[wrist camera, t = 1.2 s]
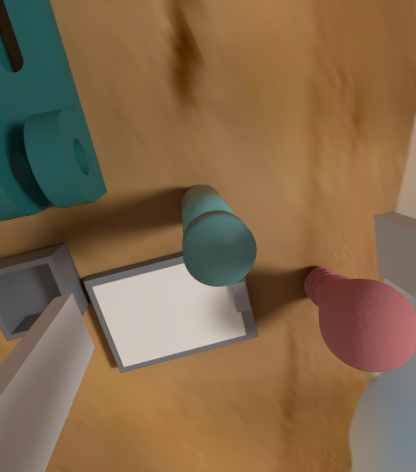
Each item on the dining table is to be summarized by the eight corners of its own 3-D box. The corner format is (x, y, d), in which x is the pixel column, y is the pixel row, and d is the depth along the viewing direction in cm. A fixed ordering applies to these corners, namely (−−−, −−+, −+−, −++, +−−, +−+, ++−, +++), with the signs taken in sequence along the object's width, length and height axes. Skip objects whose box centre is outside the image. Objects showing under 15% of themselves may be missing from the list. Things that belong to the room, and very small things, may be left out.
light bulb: (364, 260, 33) (464, 325, 21) (331, 316, 34) (408, 403, 23) (306, 237, 31) (381, 294, 20) (276, 297, 33) (328, 380, 22)
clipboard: (86, 276, 30) (81, 284, 28) (235, 238, 31) (238, 244, 29) (122, 365, 34) (119, 377, 32) (255, 330, 34) (259, 340, 32)
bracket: (107, 191, 28) (82, 210, 21) (33, 207, 28) (-18, 231, 21) (35, -49, 23) (-34, -141, 15) (-58, -32, 22) (-175, -118, 15)
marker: (174, 186, 28) (174, 227, 15) (214, 176, 29) (248, 208, 15) (185, 224, 30) (193, 294, 16) (223, 214, 30) (262, 276, 16)
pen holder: (-4, 260, 29) (-28, 275, 26) (65, 242, 29) (51, 255, 26) (25, 319, 31) (7, 341, 28) (89, 302, 31) (79, 322, 28)
